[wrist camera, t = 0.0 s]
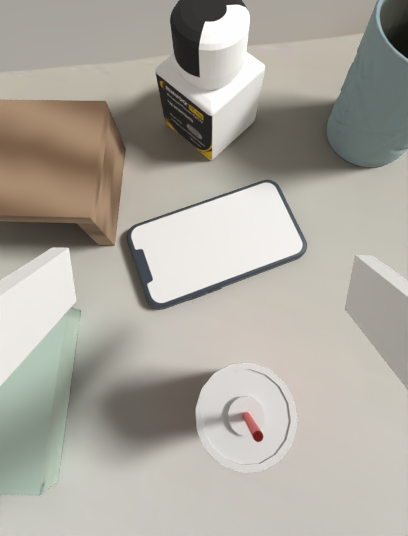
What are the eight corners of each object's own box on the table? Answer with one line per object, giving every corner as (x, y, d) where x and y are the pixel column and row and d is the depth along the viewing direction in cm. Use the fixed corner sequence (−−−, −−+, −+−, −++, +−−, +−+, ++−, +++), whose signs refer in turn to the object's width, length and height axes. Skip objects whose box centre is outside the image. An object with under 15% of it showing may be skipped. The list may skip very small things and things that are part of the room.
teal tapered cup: (305, 108, 35) (352, -12, 24) (389, 83, 36) (474, -45, 24) (344, 186, 33) (418, 95, 21) (434, 158, 34) (552, 54, 22)
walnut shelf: (114, 245, 32) (89, 217, 25) (-25, 241, 32) (-84, 213, 26) (125, 148, 35) (105, 101, 28) (-3, 146, 35) (-51, 98, 28)
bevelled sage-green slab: (58, 480, 26) (39, 495, 24) (-49, 475, 27) (-80, 489, 24) (80, 310, 30) (67, 305, 27) (-14, 307, 30) (-37, 302, 27)
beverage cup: (280, 423, 27) (348, 491, 14) (210, 444, 27) (211, 535, 13) (257, 351, 29) (299, 349, 15) (191, 370, 28) (174, 385, 15)
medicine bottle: (164, 123, 35) (141, 11, 24) (209, 84, 36) (208, -41, 25) (211, 163, 34) (211, 63, 22) (256, 121, 35) (278, 6, 24)
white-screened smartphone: (271, 182, 34) (126, 232, 32) (274, 174, 32) (122, 226, 31) (307, 257, 32) (153, 315, 30) (312, 252, 30) (151, 313, 29)
